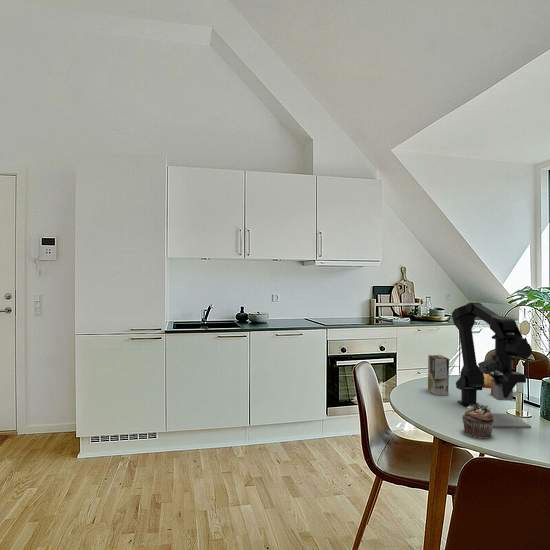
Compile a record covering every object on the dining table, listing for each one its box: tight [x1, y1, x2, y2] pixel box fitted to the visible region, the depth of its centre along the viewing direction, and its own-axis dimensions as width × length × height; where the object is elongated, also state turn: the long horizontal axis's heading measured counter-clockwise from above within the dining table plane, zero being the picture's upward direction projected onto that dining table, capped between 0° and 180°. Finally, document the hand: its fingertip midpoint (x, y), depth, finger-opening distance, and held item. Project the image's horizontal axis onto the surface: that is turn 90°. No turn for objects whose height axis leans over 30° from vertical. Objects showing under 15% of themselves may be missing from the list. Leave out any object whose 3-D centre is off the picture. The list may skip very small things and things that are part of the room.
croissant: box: [483, 373, 492, 389], centre depth 207 cm, size 21×10×8 cm, turn 55°
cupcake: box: [461, 402, 494, 439], centre depth 143 cm, size 10×10×10 cm
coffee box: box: [427, 354, 450, 396], centre depth 193 cm, size 9×6×16 cm
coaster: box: [491, 412, 532, 429], centre depth 156 cm, size 13×13×1 cm
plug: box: [492, 384, 518, 401], centre depth 156 cm, size 4×7×5 cm, turn 91°
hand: (502, 396), depth 156 cm, fingers closed on plug, 4 cm apart
